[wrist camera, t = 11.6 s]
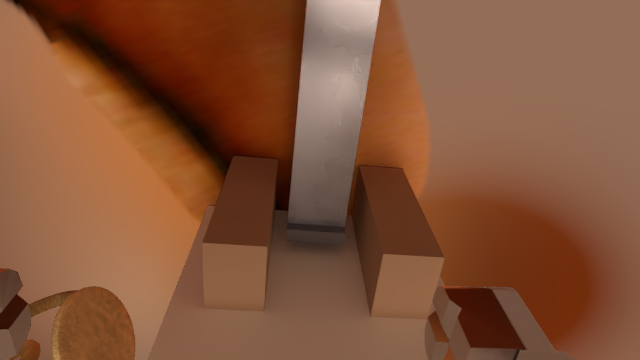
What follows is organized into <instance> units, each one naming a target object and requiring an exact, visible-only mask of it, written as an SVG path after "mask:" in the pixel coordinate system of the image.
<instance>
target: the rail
mask: <svg viewBox="0 0 640 360" xmlns="http://www.w3.org/2000/svg"><path fill="white" fill-rule="evenodd" d="M380 2H381V0H306V5H305V17H304V28H303V40H302V51H301V63H300V74H299V86H298V97H297V109H296V120H295V132H294V143H293V155H292V166H291V178H290V189H289V202H288V218H287V234H286V241H298V242H312V243H326V244H341V245H344V241H345V235H346V233H345V222H346V216H347V209H348V203H349V197H350V190H351V184H352V178H353V172H354V165H355V159H356V153H357V147H358V140H359V134H360V128H361V121H362V115H363V109H364V103H365V96H366V90H367V84H368V78H369V71H370V65H371V59H372V52H373V46H374V40H375V34H376V27H377V21H378V15H379V9H380Z"/></svg>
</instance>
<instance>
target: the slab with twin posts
mask: <svg viewBox="0 0 640 360" xmlns="http://www.w3.org/2000/svg"><path fill="white" fill-rule="evenodd" d="M277 175H278V159H271V158H258V157H245V156H233V158H232V161H231V164H230V167H229V170H228V172H227V175H226V178H225V181H224V183H223V186H222V189H221V192H220V195H219V197H218V200H217V203H216V206H210V205H208V207H207V209H206V212H205V214H204V217H203V219H202V222H201V224H200V227H199V230H198V232H197V235H196V237H195V240H194V243H193V245H192V248H191V250H190V253H189V255H188V258H187V260H186V263H185V265H184V268H183V271H182V273H181V276H180V278H179V281H178V284H177V286H176V289H175V291H174V294H173V296H172V299H171V301H170V304H169V307H168V309H167V312H166V314H165V317H164V319H163V322H162V325H161V327H160V330H159V332H158V335H157V338H156V340H155V343H154V345H153V347H152V350H151V353H150V355H149V358H148V360H428V357H427V354H426V348H425V326H426V322H427V318H428V316H429V315H431V314H432V313H433V312H434V311H435V310H436V309H435V307H434V304H433V301H432V300H433V296H434V293H435V291H436V289H437V288H438V286H444V284H443V282H442V280H441V277H440V272H441V269H442V265H443V262H444V258H445V257H444V255H443V253H442V251H441V249H440V247H439V245H438V243H437V241H436V238H435V236H434V234H433V232H432V230H431V228H430V226H429V224H428V222H427V220H426V218H425V215H424V213H423V211H422V209H421V207H420V205H419V203H418V201H417V199H416V197H415V195H414V192H413V190H412V188H411V186H410V184H409V182H408V180H407V178H406V176H405V174H404V171H403V169H402V168H389V167H376V166H363V165H359V169H358V175H357V182H356V188H355V195H354V201H353V208H352V214H351V215H347V216H346V222H345V233H346V235H345V241H344V245H341V244H326V243H312V242H298V241H286V234H287V218H288V211H284V210H275V207H276V191H277Z"/></svg>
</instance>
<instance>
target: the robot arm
mask: <svg viewBox="0 0 640 360" xmlns="http://www.w3.org/2000/svg"><path fill="white" fill-rule="evenodd" d="M22 286H23V285H22V282H21V280H20V277H19V274H18V272H16V271H13V270H11V269H1V268H0V360H8V359H10V358H11V357H13V356H15V355H16V354H17V353H18V352H19V350H20V349H21V347H22V346H23V344H24V343H25V341H26V338H27V335H28V332H29V329H30V326H31V312H30V309H29V305H28V303H27V302H25V301H24V300H23V299H22V298H21V297H19V296H18V295H17V293H18V292H19V290H20V289H21V288H22ZM432 301H433V304H434V307H435V309H436V310H435V311H434V312H433V313H432V314H431V315H429V316H428V318H427V322H426V326H425V348H426V354H427V357H428V360H575V359H573V358H572V357H571V356H569V355H568V354H566V353H565V352H560V351H555V349H554V348H553V346H552V345H551V343H550V342H549V340H548V339H547V337H546V336H545V334H544V333H543V331H542V330H541V328H540V327H539V325H538V324H537V322H536V321H535V319H534V317H533V316H532V314H531V313H530V312H529V310H528V308H527V307H526V305H525V304H524V302H523V301H522V299H521V298H520V296H519V295H518V293H517V292H516V291H515V290H514V289H512V288H509V287H508V288H507V287H506V288H505V287H486V288H484V287H455V286H438V288H437V289H436V291H435V293H434V296H433V300H432Z"/></svg>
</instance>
